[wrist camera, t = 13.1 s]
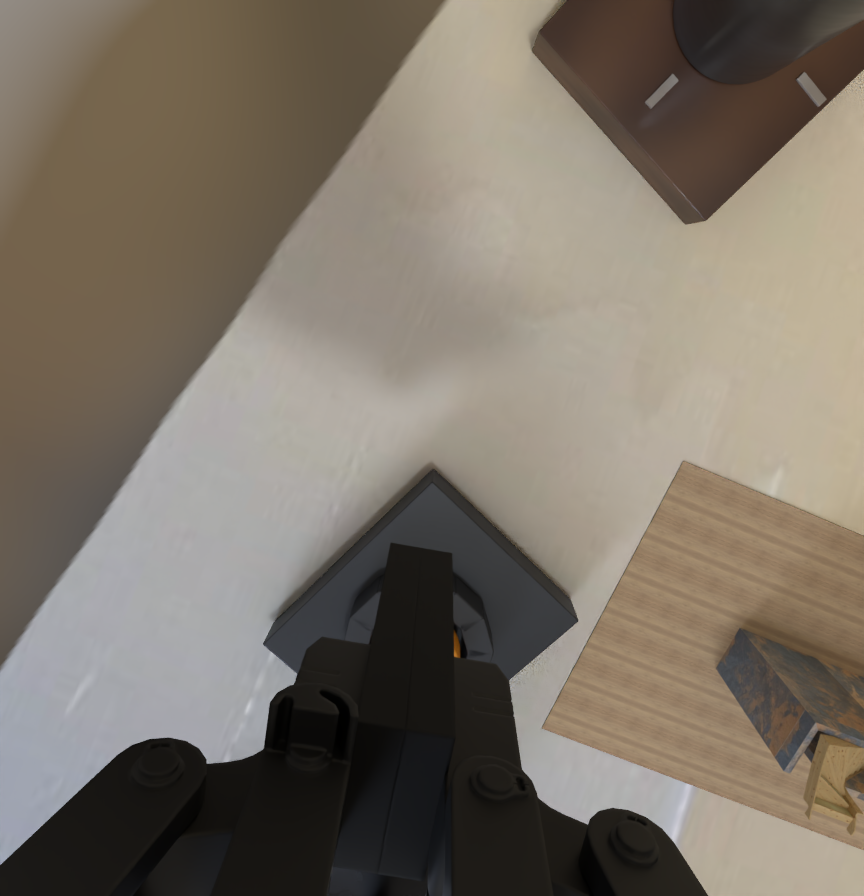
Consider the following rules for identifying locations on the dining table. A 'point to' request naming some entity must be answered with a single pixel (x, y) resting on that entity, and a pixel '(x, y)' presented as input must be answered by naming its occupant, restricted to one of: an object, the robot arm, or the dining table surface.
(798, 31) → the dimmer knob
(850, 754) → the architectural model on board
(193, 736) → the dining table surface
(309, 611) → the switch box
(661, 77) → the dimmer panel
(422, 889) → the desk lamp
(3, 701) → the dining table surface
